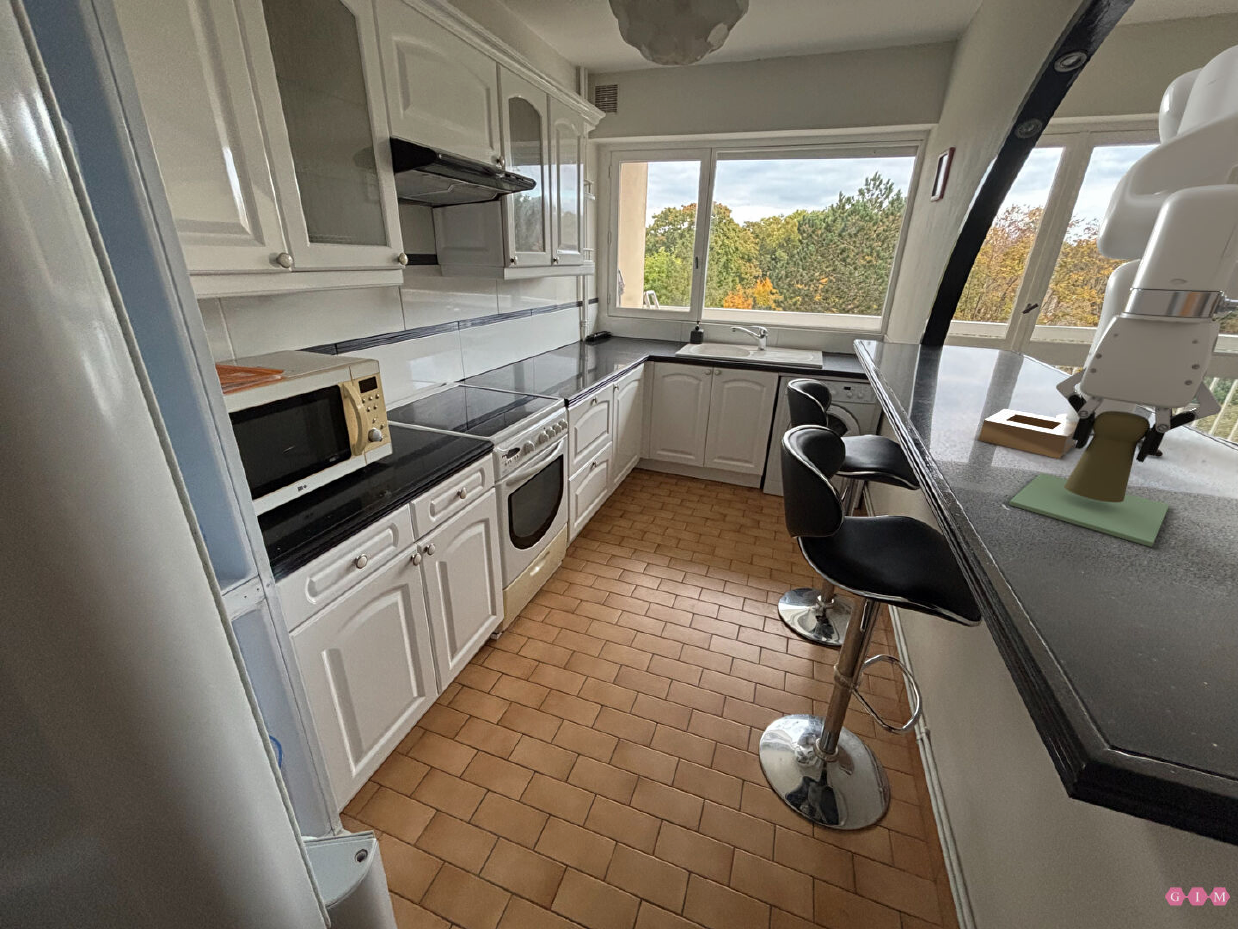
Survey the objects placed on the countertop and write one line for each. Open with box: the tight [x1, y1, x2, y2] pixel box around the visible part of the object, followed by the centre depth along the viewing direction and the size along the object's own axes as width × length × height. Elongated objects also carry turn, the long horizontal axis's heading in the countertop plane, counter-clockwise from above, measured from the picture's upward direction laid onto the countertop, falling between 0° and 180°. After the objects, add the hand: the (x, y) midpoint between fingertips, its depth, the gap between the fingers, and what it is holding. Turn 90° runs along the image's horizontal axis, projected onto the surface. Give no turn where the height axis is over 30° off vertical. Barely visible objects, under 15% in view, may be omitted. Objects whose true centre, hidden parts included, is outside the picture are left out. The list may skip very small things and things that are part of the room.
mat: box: [1008, 472, 1170, 548], centre depth 68 cm, size 16×14×1 cm
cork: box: [1064, 411, 1151, 503], centre depth 65 cm, size 6×6×11 cm
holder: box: [977, 408, 1078, 460], centre depth 92 cm, size 12×12×4 cm
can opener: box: [1137, 439, 1164, 458], centre depth 90 cm, size 9×2×1 cm, turn 147°
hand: (1110, 451), depth 65 cm, fingers closed on cork, 5 cm apart
